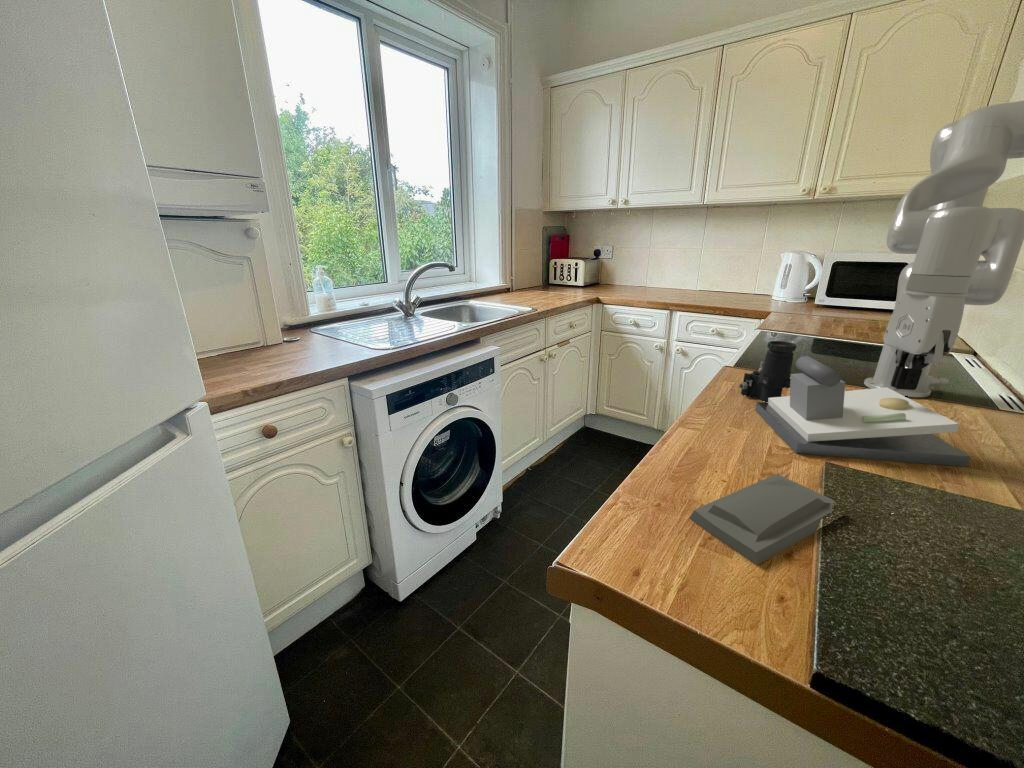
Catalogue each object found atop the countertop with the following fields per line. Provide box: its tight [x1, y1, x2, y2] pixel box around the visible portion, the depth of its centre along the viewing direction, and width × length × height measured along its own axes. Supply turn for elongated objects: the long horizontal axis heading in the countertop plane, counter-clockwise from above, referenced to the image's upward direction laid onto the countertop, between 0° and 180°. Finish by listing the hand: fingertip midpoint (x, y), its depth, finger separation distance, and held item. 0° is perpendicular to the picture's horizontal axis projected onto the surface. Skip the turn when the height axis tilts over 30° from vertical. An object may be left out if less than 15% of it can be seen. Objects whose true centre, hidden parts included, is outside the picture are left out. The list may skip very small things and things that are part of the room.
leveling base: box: [754, 401, 971, 468], centre depth 80 cm, size 26×20×2 cm
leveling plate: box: [768, 355, 959, 442], centre depth 78 cm, size 22×18×12 cm
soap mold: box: [688, 473, 839, 566], centre depth 57 cm, size 10×20×4 cm, turn 118°
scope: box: [738, 340, 797, 402], centre depth 96 cm, size 8×14×10 cm
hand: (902, 387), depth 76 cm, fingers closed
